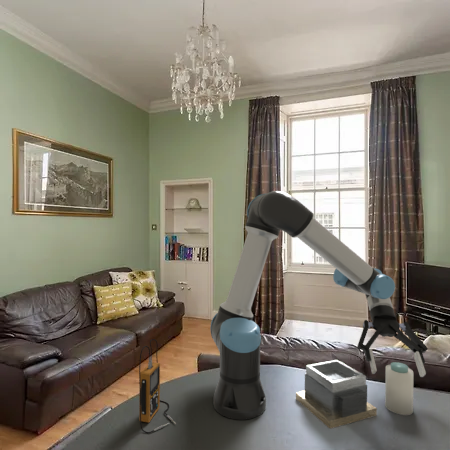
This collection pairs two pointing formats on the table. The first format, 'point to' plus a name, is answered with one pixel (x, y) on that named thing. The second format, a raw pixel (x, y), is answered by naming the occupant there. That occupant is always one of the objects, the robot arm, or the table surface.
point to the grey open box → (335, 394)
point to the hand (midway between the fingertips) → (398, 373)
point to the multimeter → (150, 391)
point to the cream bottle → (399, 388)
